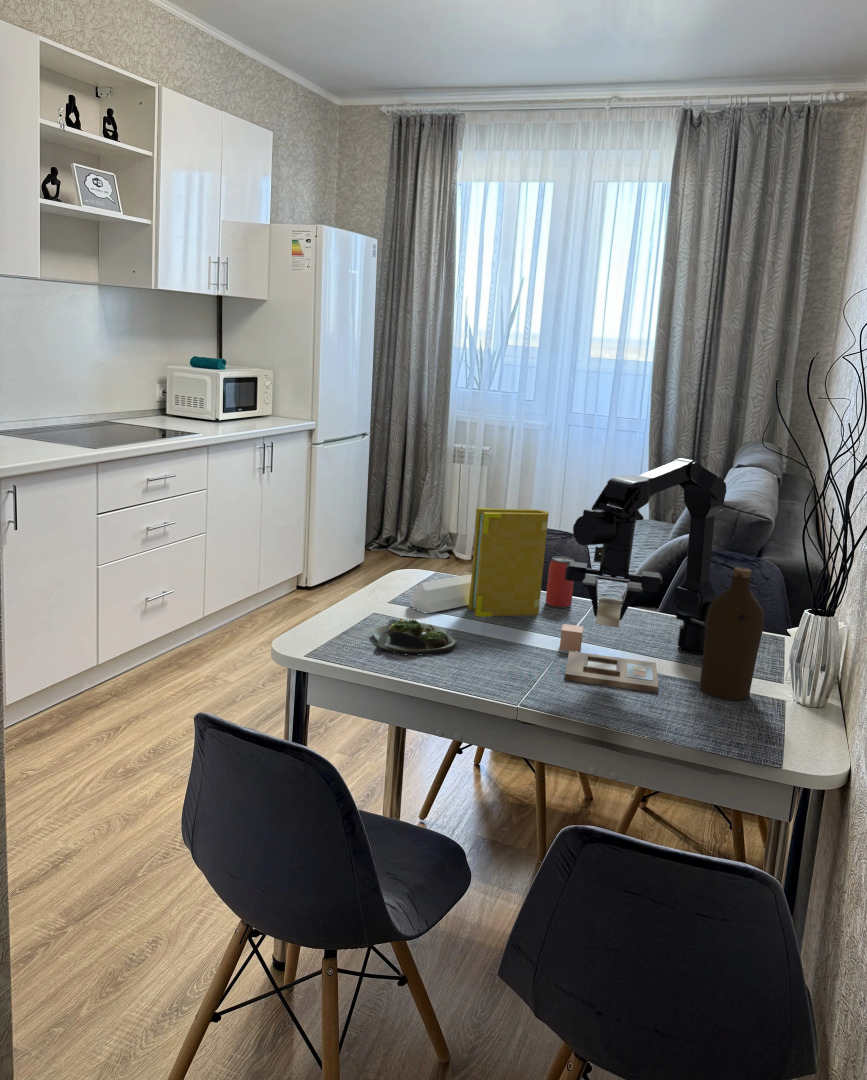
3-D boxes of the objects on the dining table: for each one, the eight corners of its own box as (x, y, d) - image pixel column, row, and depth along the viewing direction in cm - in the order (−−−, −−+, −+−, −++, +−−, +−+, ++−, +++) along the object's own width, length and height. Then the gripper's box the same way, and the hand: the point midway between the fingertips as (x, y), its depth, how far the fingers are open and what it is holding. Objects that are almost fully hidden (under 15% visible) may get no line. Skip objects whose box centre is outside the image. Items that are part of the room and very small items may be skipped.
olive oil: (764, 699, 173) (784, 575, 167) (721, 704, 169) (740, 577, 163) (726, 679, 182) (744, 561, 177) (685, 683, 178) (702, 563, 173)
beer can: (563, 610, 222) (568, 563, 219) (540, 604, 226) (545, 558, 223) (575, 605, 227) (581, 559, 224) (553, 599, 231) (558, 554, 228)
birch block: (618, 621, 181) (621, 599, 180) (618, 627, 177) (621, 605, 176) (596, 617, 182) (599, 596, 181) (595, 624, 177) (598, 602, 176)
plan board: (655, 668, 186) (656, 659, 185) (657, 692, 172) (659, 683, 172) (568, 656, 189) (569, 647, 189) (564, 679, 176) (565, 669, 175)
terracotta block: (581, 646, 197) (583, 626, 196) (580, 652, 192) (582, 632, 191) (560, 643, 197) (562, 623, 196) (559, 649, 193) (561, 630, 192)
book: (476, 616, 212) (485, 513, 206) (468, 608, 218) (476, 507, 212) (542, 615, 216) (553, 514, 211) (532, 607, 223) (542, 509, 217)
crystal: (429, 603, 207) (500, 589, 223) (413, 581, 211) (484, 569, 227) (417, 625, 211) (488, 609, 227) (401, 603, 215) (472, 590, 231)
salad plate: (356, 628, 198) (357, 608, 197) (432, 625, 204) (433, 606, 203) (381, 659, 180) (383, 638, 179) (463, 655, 186) (465, 634, 185)
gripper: (664, 540, 182) (654, 613, 185) (573, 529, 185) (564, 601, 188) (667, 551, 171) (655, 629, 174) (569, 539, 174) (560, 615, 178)
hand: (607, 617), depth 179 cm, fingers closed on birch block, 4 cm apart
